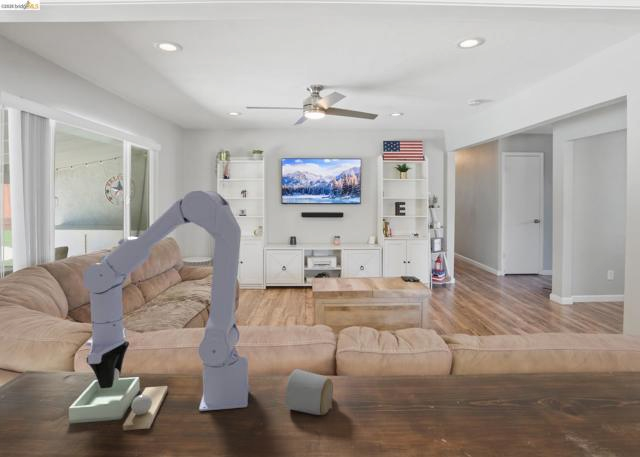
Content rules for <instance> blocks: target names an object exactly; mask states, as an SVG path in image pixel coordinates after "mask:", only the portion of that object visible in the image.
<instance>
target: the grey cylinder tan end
mask: <svg viewBox="0 0 640 457" xmlns="http://www.w3.org/2000/svg"><path fill="white" fill-rule="evenodd" d="M333 395H334V383H333V381H332V379H330V378H329V377H327V376H325V375H323V374H322V375H321V374H317V373H313V372H311V371H310V372H309V371H308V370H307V371H305V370H302V369H298V368H296V369H294V370H293V371H292V372H291V373H290V375H289V377H288V379H287V383H286V387H285V394H284V402H285V404H284V405H285V407H286V408H287V409H288V410H292V411H296V412H301V413H306V414H310V415H315V416H324V415H326V414H327V413H328V411H329V410H330V407H331V405H332V402H333Z"/></svg>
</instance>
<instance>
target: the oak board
mask: <svg viewBox="0 0 640 457" xmlns="http://www.w3.org/2000/svg"><path fill="white" fill-rule="evenodd" d="M168 388H169V387H168V385H161V386H148V387H145V388H144V389H143V391H142V393H141V394H140V395H142V394H145V395H148V396H149V397H150V398H151V400H152V406H151V408H150V410H149V411H148V412H147V413H145V414H143V415H137V414H135V413H134V412H133V411H132V410H131V411H130V413H129V414H128V416H127V418H126V419H125V421H124V423H123V424H122V431H132V430H143V429H144V430H145V429H151V426H152V425H153V422H154V420H155V418H156V416H157V413H158V411H159V409H160V407H161V405H162V403H163V401H164V399H165V397H166V396H167V393H168V391H169V389H168Z"/></svg>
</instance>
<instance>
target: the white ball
mask: <svg viewBox="0 0 640 457" xmlns="http://www.w3.org/2000/svg"><path fill="white" fill-rule="evenodd" d="M119 376H121V374H120V373H119V371H118V369H117V368H115V371H114V381H113V384H114V383H116V382H117V380H118V379H119V378H120V377H119Z"/></svg>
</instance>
